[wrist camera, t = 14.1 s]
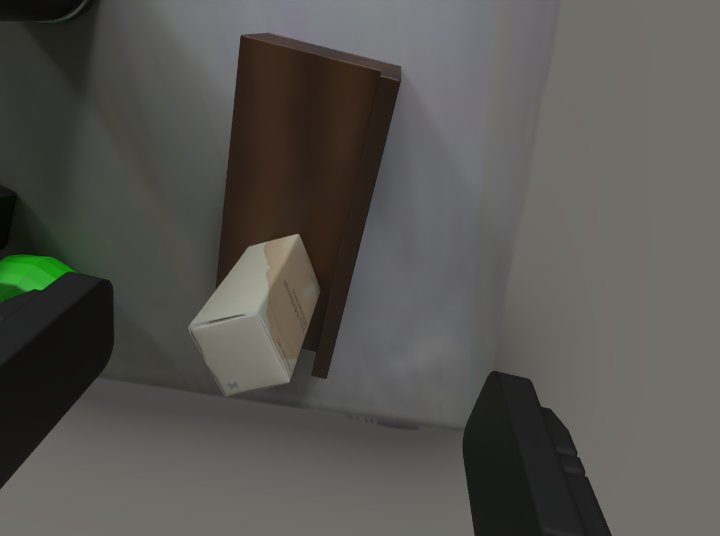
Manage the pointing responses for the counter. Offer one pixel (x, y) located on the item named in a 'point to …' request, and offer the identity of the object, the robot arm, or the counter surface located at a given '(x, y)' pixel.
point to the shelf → (306, 163)
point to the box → (258, 317)
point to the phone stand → (5, 213)
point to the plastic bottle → (28, 274)
